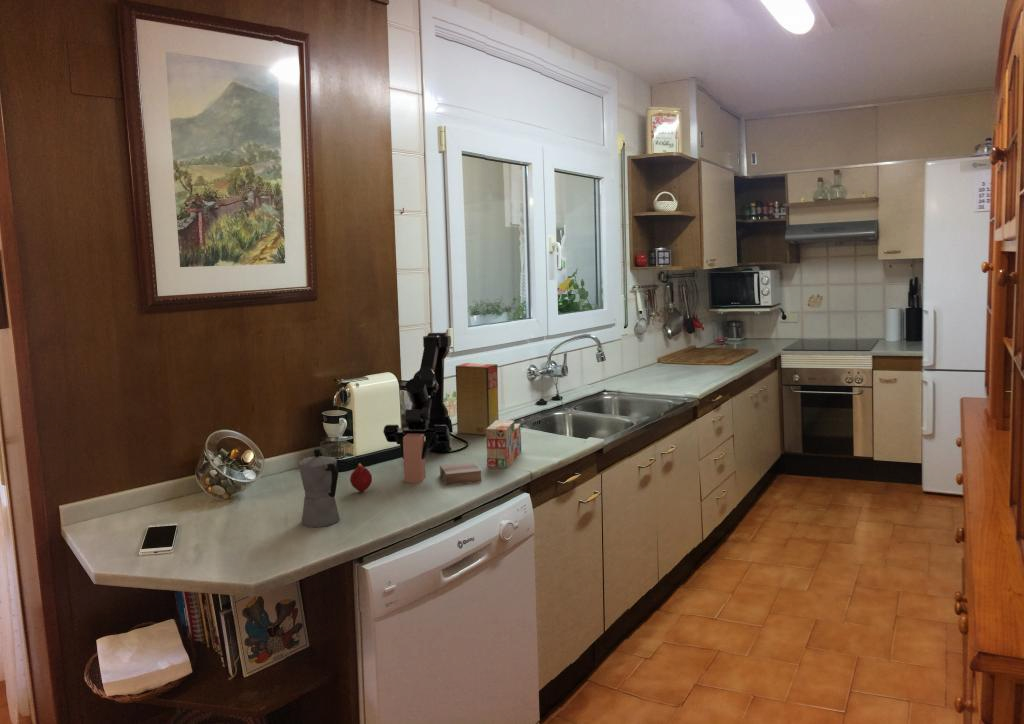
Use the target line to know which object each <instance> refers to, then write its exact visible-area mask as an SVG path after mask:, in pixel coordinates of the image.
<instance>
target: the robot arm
mask: <svg viewBox="0 0 1024 724" xmlns="http://www.w3.org/2000/svg"><path fill="white" fill-rule="evenodd" d="M422 339H423V340H422V342H423V344H422V345H423V351H422V356H421V362H420V368H419V370H418V371H416V372H415V373H414V375H413V378H410V379H409V380H408V381H407V382H406V383H405V386H404V387H405V388H404V389H405V390H406V393H407V397H408V398H409V399H408V400H409V401H410V403H411V407H410V409H405V410H404V421H405V427H407V428H406V429H405V428H403V427H400V426H399V424H386V425H385V426H384V427H383V432H382V433H383V435H384V436H385V440H386V442H387V443H396V444H397V445H399V448H400V452H401V457H402V460H404V453H403V437H404V436H405V435H406V434H424V442H425V444H424V448H423V452H422V459H424V458H425V459H426V457H427V456H428V454H429V453H436V454H442V453H446V452H447V451H450V450H452V449H453V448H452V447H450V446H451V444H450V443H451V442H450V440H451V439H450V438H451V434H452V433H453V432H454V431H453V424H452V419H451V418H450V415H449V411H448V408H447V407H446V405H445V403H444V393H445V392H444V388H445V387H444V386H445V385H444V383H445V382H444V381H445V359H446V358H447V356H448V354H449V353H450V347H452V337H451V335H448V333H447V332H428V333H427V335H423V336H422Z"/></svg>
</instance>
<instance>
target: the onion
mask: <svg viewBox="0 0 1024 724" xmlns="http://www.w3.org/2000/svg"><path fill="white" fill-rule="evenodd" d="M349 478H350V479H349V480H350V484H351V486H352V487H353V488H354V489H355V490H357V491H358V492H359V493H364V492H365V491H366V490H367V489H368V488H369V487H370V486H371V485H372V482H373V476H372V473H371V472H370V471H369V469H368V468H366V467H365V466H364V465H362V464H361V463H358V465H357V467H356V468H355V469H354V470H353V471H352V472H351V474H350V477H349Z"/></svg>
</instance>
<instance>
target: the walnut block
mask: <svg viewBox="0 0 1024 724" xmlns="http://www.w3.org/2000/svg"><path fill="white" fill-rule="evenodd" d="M439 476H440V477H441V479H442V480H443V482H444V483H445V485H446V486H451V485H459V484H460V483H461V484H469V483H468V482H471V483H478V481H481V482H482V470H481V469H480V468H479V466H477V464H475V462H474V461H471V462H461V463H450V464H449V463H448V464H440V465H439Z"/></svg>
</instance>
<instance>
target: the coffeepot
mask: <svg viewBox="0 0 1024 724" xmlns="http://www.w3.org/2000/svg"><path fill="white" fill-rule="evenodd" d="M313 454H314V455H313V456H307V457H303V458H302V460H299V461H297V463H298V467H299V472H300V477H301V482H302V486H303V490H304V495H305V496H304V498H303V506H302V507H303V508H302V516H301V522H302V525H303V526H305V527H307V528H324V527H329V526H333V525H335V524H337V523H338V522H339V521H340V520H341V519H340V515H339V510H338V505H337V502H336V498H335V496H336V492H337V484H338V478H339V470H338V468H337V465H338V464H337V463H338V460H337V459H336V457H331V456H324V455H323V456H321V455H320V454H321V449H320V448H316V449H313Z"/></svg>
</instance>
